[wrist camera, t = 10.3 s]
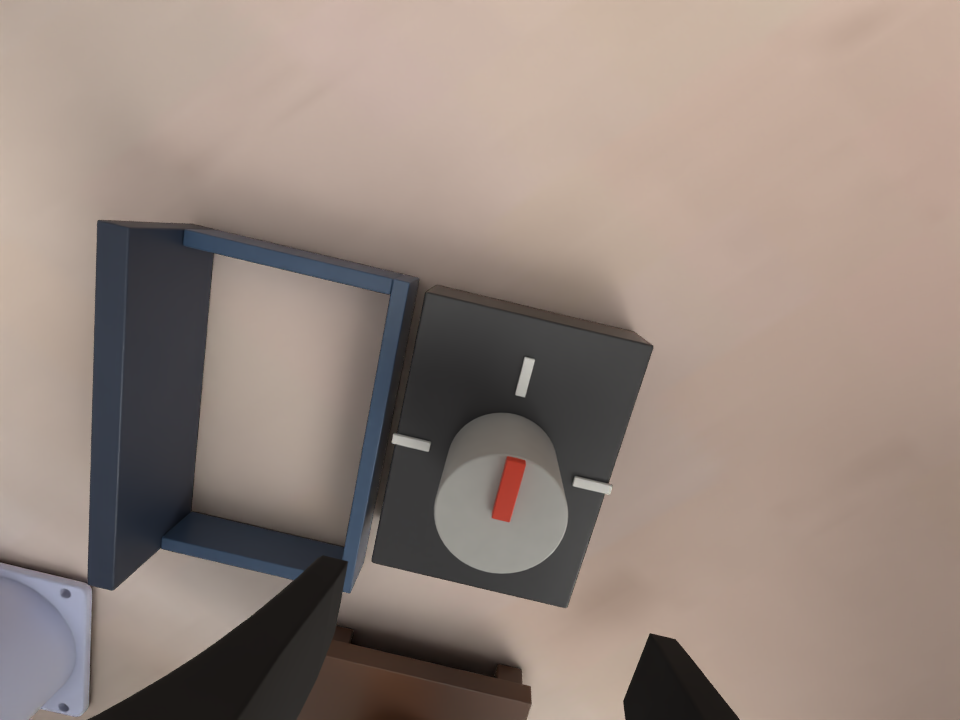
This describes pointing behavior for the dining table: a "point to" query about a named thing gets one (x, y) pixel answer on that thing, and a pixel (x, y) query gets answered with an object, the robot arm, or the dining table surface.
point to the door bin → (177, 394)
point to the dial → (501, 495)
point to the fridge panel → (517, 390)
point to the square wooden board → (409, 688)
